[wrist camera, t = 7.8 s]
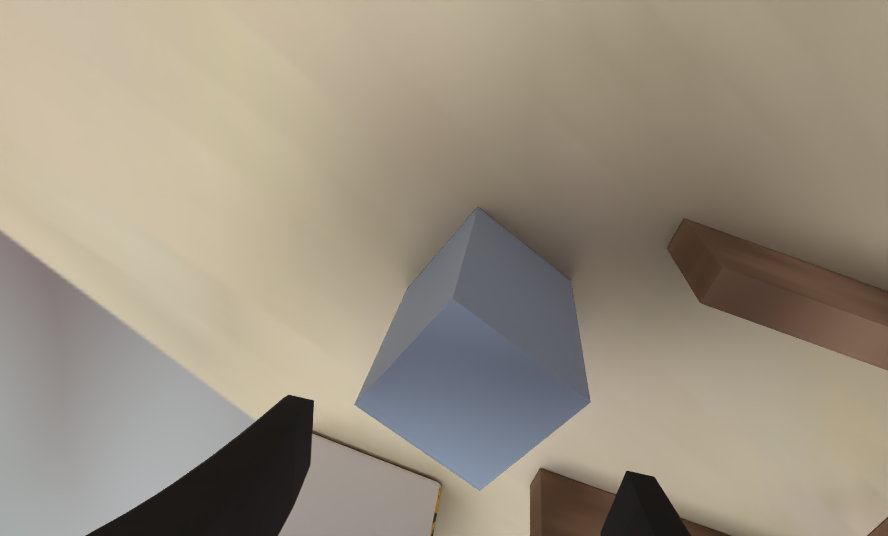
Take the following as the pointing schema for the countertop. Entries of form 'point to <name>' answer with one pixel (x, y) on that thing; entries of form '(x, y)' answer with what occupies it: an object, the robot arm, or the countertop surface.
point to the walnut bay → (752, 298)
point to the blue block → (480, 355)
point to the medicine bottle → (360, 497)
